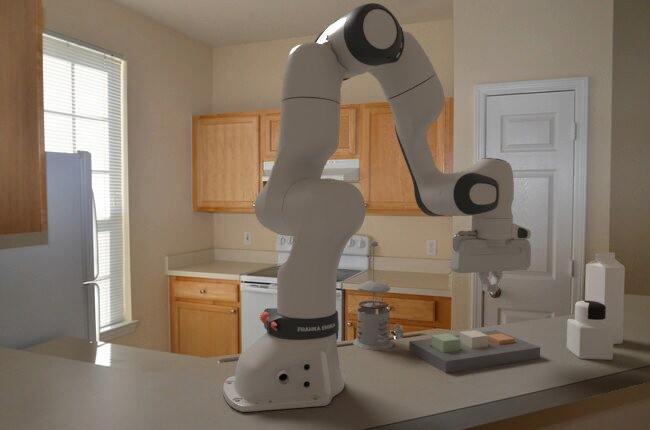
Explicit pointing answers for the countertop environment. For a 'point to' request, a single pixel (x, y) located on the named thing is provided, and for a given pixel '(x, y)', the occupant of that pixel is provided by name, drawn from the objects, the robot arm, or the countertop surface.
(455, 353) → the button panel
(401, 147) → the robot arm
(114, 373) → the countertop surface
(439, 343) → the sage button
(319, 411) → the countertop surface
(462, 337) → the cream button
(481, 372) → the countertop surface
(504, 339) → the terracotta button
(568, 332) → the medicine bottle
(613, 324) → the milk
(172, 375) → the countertop surface
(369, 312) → the french press
